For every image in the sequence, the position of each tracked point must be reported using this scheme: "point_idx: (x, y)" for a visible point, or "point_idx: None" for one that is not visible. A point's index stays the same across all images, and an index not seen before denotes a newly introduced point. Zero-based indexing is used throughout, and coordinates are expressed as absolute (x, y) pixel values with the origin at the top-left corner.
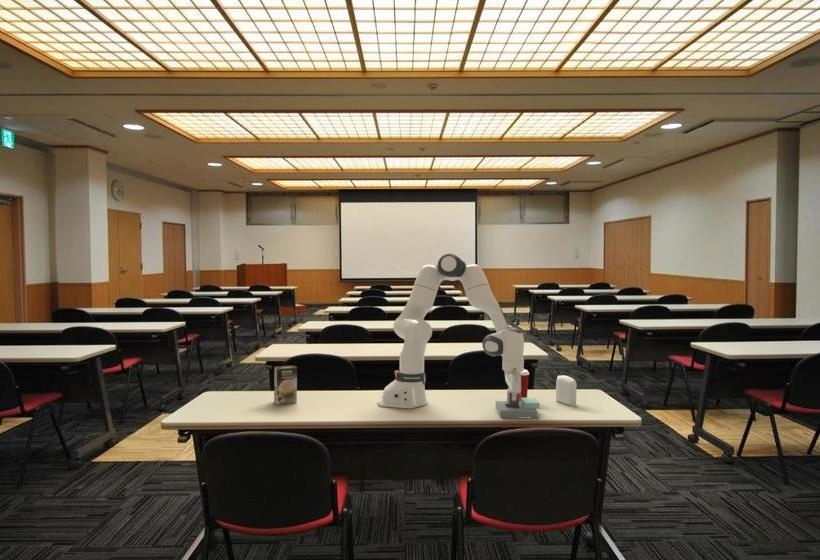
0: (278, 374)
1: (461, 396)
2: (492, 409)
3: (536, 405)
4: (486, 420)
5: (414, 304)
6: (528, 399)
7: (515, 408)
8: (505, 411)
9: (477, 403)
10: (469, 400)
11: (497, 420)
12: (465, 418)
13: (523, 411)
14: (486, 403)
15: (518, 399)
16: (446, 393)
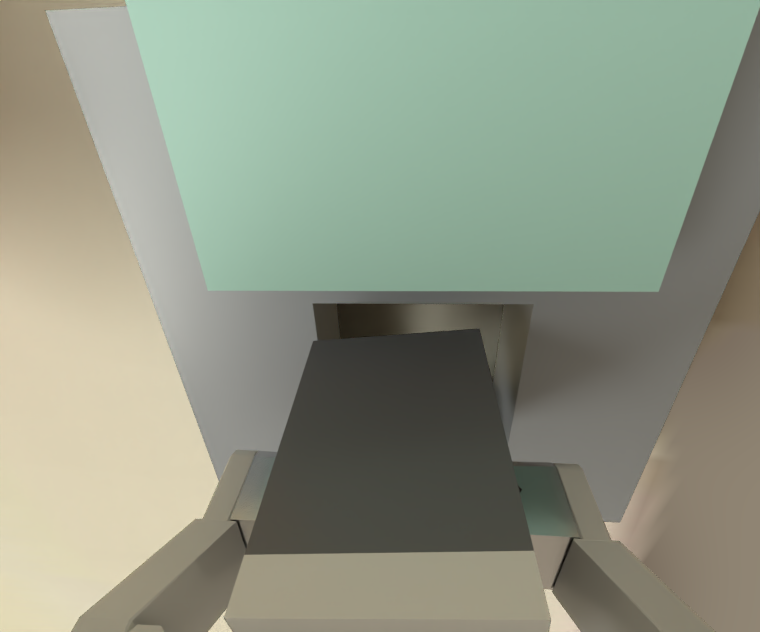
0: None
1: (22, 581)
2: None
3: None
4: (636, 540)
5: None
6: (345, 141)
7: (557, 370)
8: (631, 475)
9: (162, 531)
10: (102, 559)
11: (661, 480)
12: (557, 619)
13: (723, 278)
14: (132, 482)
15: (497, 408)
16: (4, 626)
